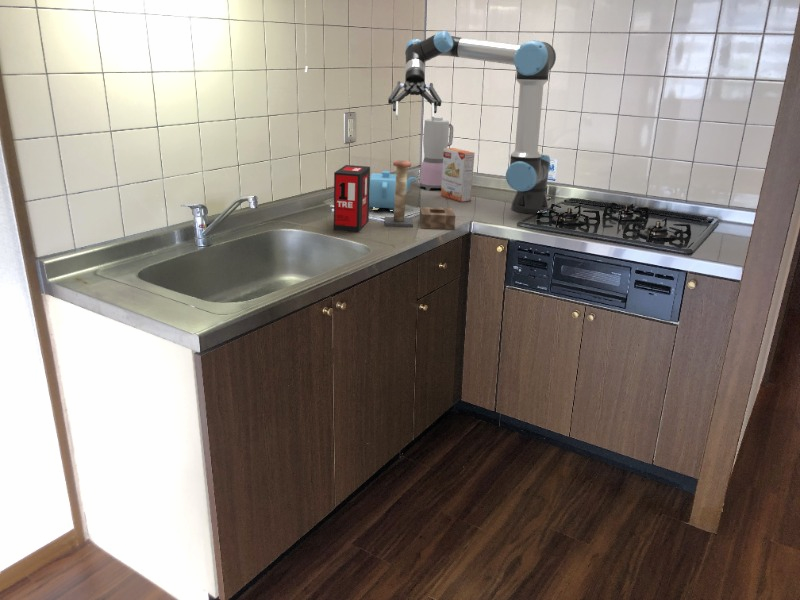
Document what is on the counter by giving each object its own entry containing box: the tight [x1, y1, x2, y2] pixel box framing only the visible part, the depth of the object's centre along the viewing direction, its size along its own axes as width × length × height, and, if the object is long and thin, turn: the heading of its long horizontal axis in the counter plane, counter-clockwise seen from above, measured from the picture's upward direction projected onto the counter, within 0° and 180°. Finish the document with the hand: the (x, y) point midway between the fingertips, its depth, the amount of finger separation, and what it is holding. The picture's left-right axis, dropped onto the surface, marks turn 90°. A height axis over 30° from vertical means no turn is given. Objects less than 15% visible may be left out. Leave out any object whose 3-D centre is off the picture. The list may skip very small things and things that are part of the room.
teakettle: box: [369, 170, 417, 211], centre depth 259 cm, size 19×19×15 cm
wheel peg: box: [392, 160, 412, 222], centre depth 236 cm, size 6×6×21 cm
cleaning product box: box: [333, 164, 371, 233], centre depth 230 cm, size 16×9×20 cm, turn 171°
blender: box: [419, 116, 454, 191], centre depth 299 cm, size 16×12×32 cm
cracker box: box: [440, 147, 476, 203], centre depth 281 cm, size 14×6×21 cm, turn 36°
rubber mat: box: [384, 216, 414, 228], centre depth 240 cm, size 10×10×1 cm
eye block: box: [419, 206, 456, 230], centre depth 240 cm, size 12×12×5 cm
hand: (414, 118), depth 246 cm, fingers open, 13 cm apart
